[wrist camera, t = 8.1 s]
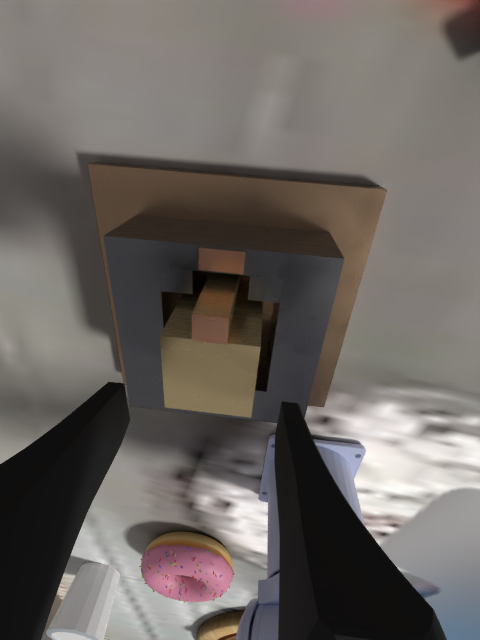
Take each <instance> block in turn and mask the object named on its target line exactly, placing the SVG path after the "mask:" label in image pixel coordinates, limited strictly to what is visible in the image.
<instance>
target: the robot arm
mask: <svg viewBox="0 0 480 640" xmlns="http://www.w3.org/2000/svg"><path fill="white" fill-rule="evenodd" d="M129 421H130V417H129V411H128V405H127V398H126V392H125V386H124V384H123V383H114V382H108V383H107V384H106V385H105V386H103V387H102V388H101V389H100V390H99V391H97V392H96V393H95V394H94V395H93V396H91V397H90V398H89V399H88V400H87V401H86V402H84V403H83V404H82V405H81V406H80V407H78V408H77V409H76V410H75V411H74V412H72V413H71V414H70V415H69V416H67V417H66V418H65V419H64V420H62V421H61V422H60V423H59V424H57V425H56V426H55V427H53V428H52V429H51V430H49V431H48V432H47V433H45V434H44V435H43V436H41V437H40V438H39V439H37V440H36V441H35V442H33V443H32V444H30V445H29V446H28V447H26V448H25V449H23V450H22V451H20V452H19V453H17V454H16V455H14V456H13V457H11V458H10V459H8V460H6V461H5V462H3V463H2V464H0V640H41V638H42V635H43V632H44V628H45V626H46V623H47V619H48V616H49V613H50V610H51V607H52V604H53V602H54V599H55V596H56V593H57V590H58V588H59V585H60V582H61V579H62V576H63V573H64V571H65V568H66V565H67V563H68V560H69V557H70V555H71V552H72V550H73V547H74V544H75V542H76V539H77V537H78V534H79V532H80V529H81V527H82V524H83V522H84V519H85V517H86V514H87V512H88V510H89V508H90V505H91V503H92V501H93V499H94V497H95V495H96V493H97V491H98V489H99V487H100V485H101V483H102V481H103V479H104V477H105V475H106V474H107V472H108V470H109V468H110V466H111V464H112V462H113V460H114V458H115V456H116V454H117V452H118V450H119V448H120V446H121V443H122V441H123V438H124V435H125V433H126V430H127V427H128V424H129ZM365 452H366V450H365V447H364V446H363V445H359V444H351V443H342V442H334V441H325V440H316V439H313V438H312V436H311V433H310V431H309V429H308V426H307V424H306V421H305V419H304V416H303V413H302V411H301V408H300V405H299V404H298V403H292V402H283V401H282V403H281V408H280V413H279V418H278V424H277V429H276V434H275V435H271V436H270V437H269V439H268V445H267V450H266V456H265V462H264V468H263V473H262V479H261V485H260V490H259V500H260V501H262V502H268V562H267V579H265V580H259V581H258V598H254V599H252V600H251V601H250V602H249V603H248V605H247V607H246V609H245V611H244V614H243V615H242V617H241V620H240V623H239V626H238V630H237V634H236V640H447V639H446V637H445V635H444V632H443V630H442V627H441V625H440V623H439V621H438V619H437V616H436V614H435V612H434V610H433V608H432V607H431V606H430V605H429V604H428V603H427V602H426V601H425V599H424V598H423V597H422V596H421V595H420V594H419V593H418V592H417V591H416V589H415V588H414V587H413V586H412V585H411V584H410V583H409V581H408V580H407V579H406V578H405V577H404V576H403V574H402V573H401V572H400V571H399V570H398V568H397V567H396V566H395V565H394V564H393V562H392V561H391V560H390V559H389V558H388V556H387V555H386V554H385V553H384V551H383V550H382V549H381V547H380V546H379V545H378V543H377V542H376V541H375V539H374V538H373V537H372V535H371V534H370V533H369V531H368V530H367V529H366V527H365V526H364V521H363V517H362V513H361V508H360V504H359V500H358V496H357V491H356V487H355V483H354V478H355V476H356V473H357V471H358V469H359V466H360V464H361V462H362V459H363V457H364V455H365Z"/></svg>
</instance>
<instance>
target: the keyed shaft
mask: <svg viewBox="0 0 480 640" xmlns="http://www.w3.org/2000/svg"><path fill="white" fill-rule="evenodd" d="M249 282H250V276H245V275H235V274H224V273H214V272H203V274H202V276H201V278H200V280H199V282H198V284H197V286H196V288H195V290H194V292H193V294H185V293H183V294H182V296H181V298H180V299H179V301H178V303H177V305H176V307H175V309H174V311H173V312H172V314H171V316H170V318H169V320H168V322H167V323H166V325H165V327H164V329H163V331H162V333H161V335H160V345H161V360H162V374H163V389H164V403H165V407H166V408H174V409H182V410H191V411H199V412H208V413H216V414H224V415H233V416H241V417H250V418H251V415H252V408H253V400H254V393H255V385H256V378H257V370H258V363H259V356H260V348H261V330H262V311H263V301H254V300H248V293H249Z"/></svg>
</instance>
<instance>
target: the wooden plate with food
mask: <svg viewBox="0 0 480 640" xmlns="http://www.w3.org/2000/svg"><path fill="white" fill-rule="evenodd" d="M244 611H245V610H240V611H233V612H228V613H224V614H220V615H218V616H215V617H212V618H210V619H209V620H207V621H206V622H204V623H203V624H202V625H201V627H200V628H199V630H198V633H197V640H236V634H237V630H238V626H239V623H240V620H241V617H242V615H243V614H244Z"/></svg>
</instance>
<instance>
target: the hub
mask: <svg viewBox="0 0 480 640" xmlns="http://www.w3.org/2000/svg"><path fill="white" fill-rule="evenodd" d="M88 170H89V176H90V182H91V188H92V194H93V200H94V206H95V212H96V218H97V225H98V231H99V237H100V243H101V249H102V255H103V261H104V267H105V273H106V279H107V285H108V292H109V298H110V304H111V310H112V316H113V322H114V328H115V334H116V340H117V346H118V352H119V358H120V365H121V371H122V377H123V383H124V385H127V390H128V396H129V403H130V406H133V407H141V408H150V409H159V410H168V411H176V412H185V413H194V414H202V415H211V416H220V417H228V418H237V419H246V420H254V421H263V422H272V423H278V418H279V413H280V408H281V403H282V401H283V402H292V403H298V404H299V405H300V408H301V411H302V413H303V416H304V418H305V414H306V410H307V406H317V407H324V405H325V402H326V399H327V395H328V392H329V388H330V385H331V381H332V378H333V374H334V371H335V368H336V364H337V361H338V357H339V354H340V350H341V347H342V343H343V340H344V337H345V333H346V330H347V326H348V323H349V319H350V316H351V313H352V309H353V306H354V302H355V299H356V295H357V292H358V288H359V285H360V282H361V278H362V275H363V271H364V268H365V264H366V261H367V258H368V254H369V251H370V247H371V244H372V240H373V237H374V233H375V230H376V227H377V223H378V220H379V216H380V213H381V209H382V206H383V202H384V199H385V196H386V192H387V189H385V188H383V187H380V186H368V185H356V184H345V183H333V182H321V181H310V180H298V179H286V178H275V177H263V176H251V175H240V174H228V173H216V172H205V171H193V170H181V169H170V168H158V167H147V166H135V165H123V164H112V163H100V162H95V163H90V164H88ZM203 272H214V273H224V274H235V275H245V276H250V282H249V293H248V300H254V301H263V311H262V330H261V348H260V356H259V363H258V370H257V378H256V385H255V393H254V400H253V408H252V415H251V418H250V417H241V416H233V415H224V414H216V413H208V412H199V411H191V410H182V409H174V408H166V407H165V403H164V389H163V374H162V360H161V345H160V335H161V333H162V331H163V329H164V327H165V325H166V323H167V322H168V320H169V318H170V316H171V314H172V312H173V311H174V309H175V307H176V305H177V303H178V301H179V299H180V298H181V296H182V294H183V293H185V294H193V292H194V290H195V288H196V286H197V284H198V282H199V280H200V278H201V276H202V274H203Z"/></svg>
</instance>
